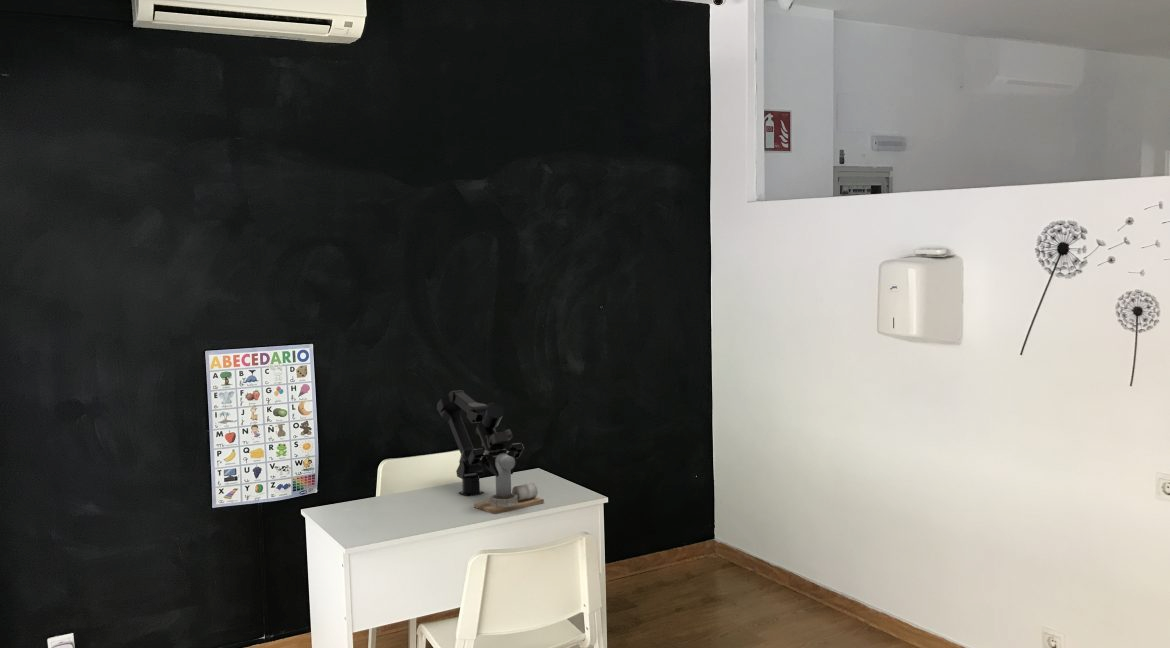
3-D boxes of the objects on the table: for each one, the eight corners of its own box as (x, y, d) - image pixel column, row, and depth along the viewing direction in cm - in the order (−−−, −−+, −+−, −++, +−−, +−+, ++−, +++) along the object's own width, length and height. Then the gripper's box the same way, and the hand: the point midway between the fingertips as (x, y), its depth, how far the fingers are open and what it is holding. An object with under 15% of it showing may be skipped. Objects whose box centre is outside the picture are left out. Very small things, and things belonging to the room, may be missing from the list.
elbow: (493, 493, 299) (492, 453, 299) (506, 491, 302) (505, 451, 301) (503, 497, 294) (502, 456, 293) (516, 495, 296) (515, 454, 295)
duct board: (474, 507, 300) (473, 488, 300) (523, 496, 313) (522, 479, 312) (494, 514, 291) (493, 495, 291) (543, 502, 304) (543, 484, 303)
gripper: (470, 425, 295) (486, 464, 287) (521, 419, 306) (538, 456, 297) (461, 445, 303) (476, 484, 294) (510, 438, 313) (526, 476, 304)
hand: (505, 474), depth 297 cm, fingers closed on elbow, 5 cm apart
